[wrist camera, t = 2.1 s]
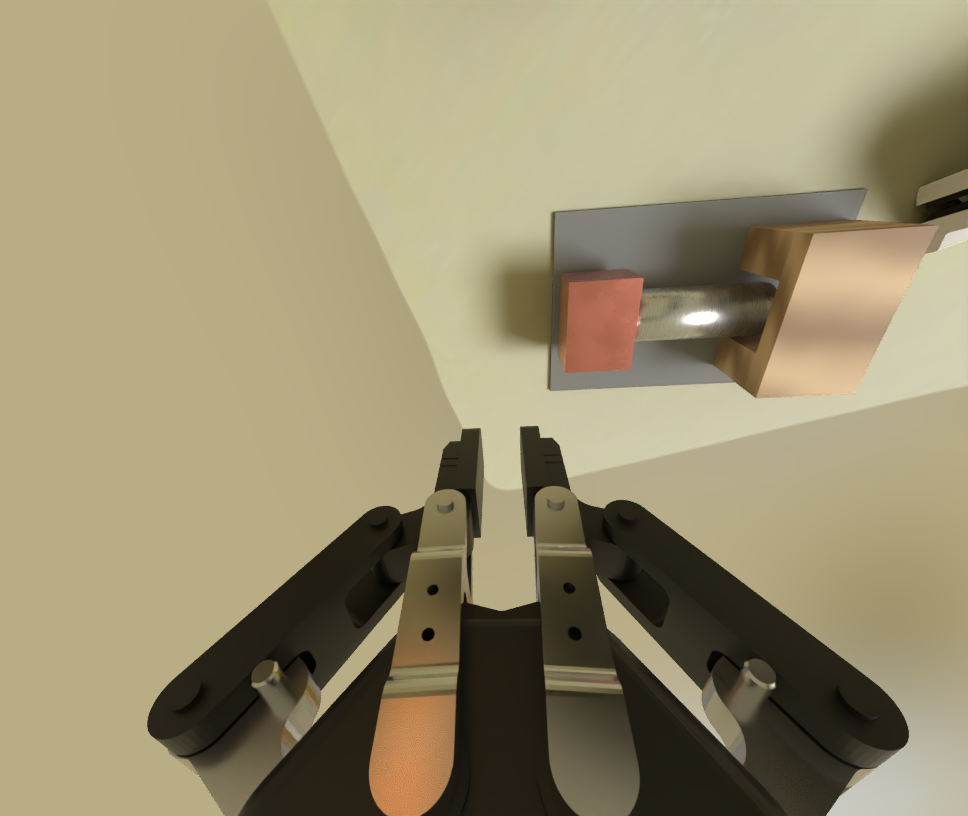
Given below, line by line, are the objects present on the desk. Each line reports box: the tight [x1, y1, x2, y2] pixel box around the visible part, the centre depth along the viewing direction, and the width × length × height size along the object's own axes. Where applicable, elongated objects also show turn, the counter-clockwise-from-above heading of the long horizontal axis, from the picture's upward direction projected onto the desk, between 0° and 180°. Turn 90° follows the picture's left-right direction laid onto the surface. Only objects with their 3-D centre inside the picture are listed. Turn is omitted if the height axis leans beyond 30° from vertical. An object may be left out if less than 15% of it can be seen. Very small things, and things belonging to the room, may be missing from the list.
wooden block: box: [713, 220, 939, 398], centre depth 27 cm, size 11×7×6 cm, turn 4°
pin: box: [558, 269, 776, 373], centre depth 28 cm, size 15×7×5 cm, turn 94°
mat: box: [550, 189, 868, 391], centre depth 30 cm, size 15×22×1 cm
